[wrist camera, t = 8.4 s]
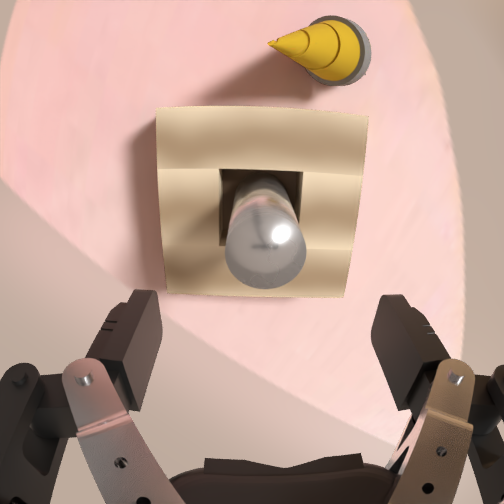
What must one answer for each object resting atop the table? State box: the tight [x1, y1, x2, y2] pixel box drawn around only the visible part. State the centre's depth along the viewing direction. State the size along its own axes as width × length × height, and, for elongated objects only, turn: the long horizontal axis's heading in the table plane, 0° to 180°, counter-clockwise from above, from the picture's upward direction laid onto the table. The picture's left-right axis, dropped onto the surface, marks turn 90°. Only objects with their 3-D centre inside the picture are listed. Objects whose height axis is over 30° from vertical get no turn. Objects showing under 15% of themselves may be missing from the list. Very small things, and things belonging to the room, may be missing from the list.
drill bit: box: [268, 16, 371, 86], centre depth 18 cm, size 5×5×10 cm
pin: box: [225, 172, 307, 289], centre depth 20 cm, size 4×4×10 cm
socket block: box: [156, 106, 369, 298], centre depth 24 cm, size 14×14×4 cm
